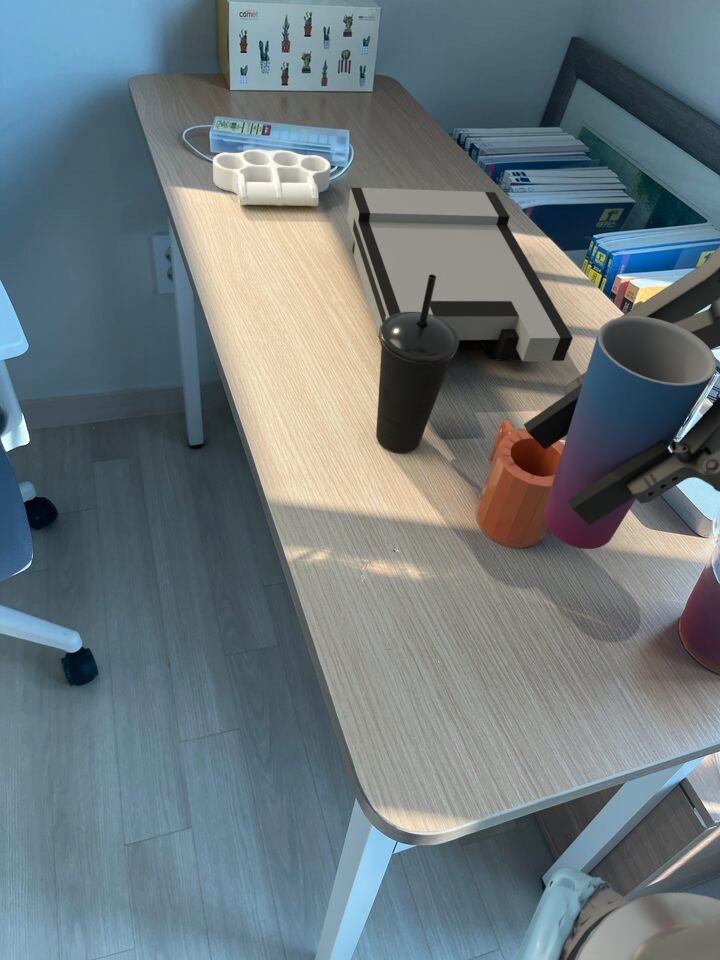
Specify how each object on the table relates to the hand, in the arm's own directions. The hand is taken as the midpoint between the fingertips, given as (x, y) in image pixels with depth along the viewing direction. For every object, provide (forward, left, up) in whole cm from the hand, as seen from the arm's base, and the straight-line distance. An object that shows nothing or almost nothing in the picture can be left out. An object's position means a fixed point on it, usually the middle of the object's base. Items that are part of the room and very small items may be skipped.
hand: (555, 473), depth 49 cm
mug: (+14, -9, -22) cm, 28 cm away
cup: (0, -3, -6) cm, 6 cm away
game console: (+49, -14, -22) cm, 55 cm away
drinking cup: (+26, -1, -22) cm, 34 cm away
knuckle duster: (+82, +3, -22) cm, 85 cm away
